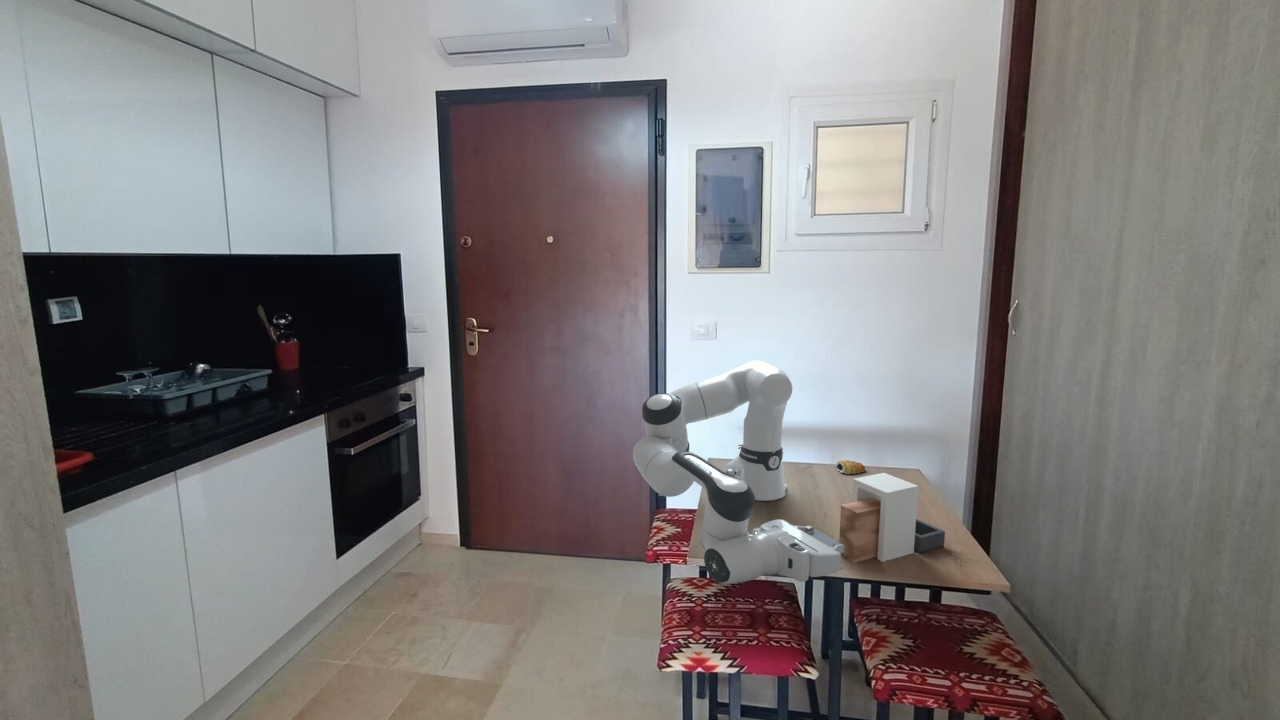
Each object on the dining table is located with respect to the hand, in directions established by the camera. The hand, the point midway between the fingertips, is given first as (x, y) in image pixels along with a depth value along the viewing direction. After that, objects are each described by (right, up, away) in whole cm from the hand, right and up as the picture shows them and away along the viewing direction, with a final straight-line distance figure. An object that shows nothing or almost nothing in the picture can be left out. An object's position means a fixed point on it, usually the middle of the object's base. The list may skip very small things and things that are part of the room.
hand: (826, 538), depth 133 cm
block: (+10, -5, +6) cm, 13 cm away
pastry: (+27, +3, +63) cm, 69 cm away
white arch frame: (+16, -5, +9) cm, 19 cm away
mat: (0, -5, +12) cm, 13 cm away
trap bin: (+25, -4, +13) cm, 28 cm away
